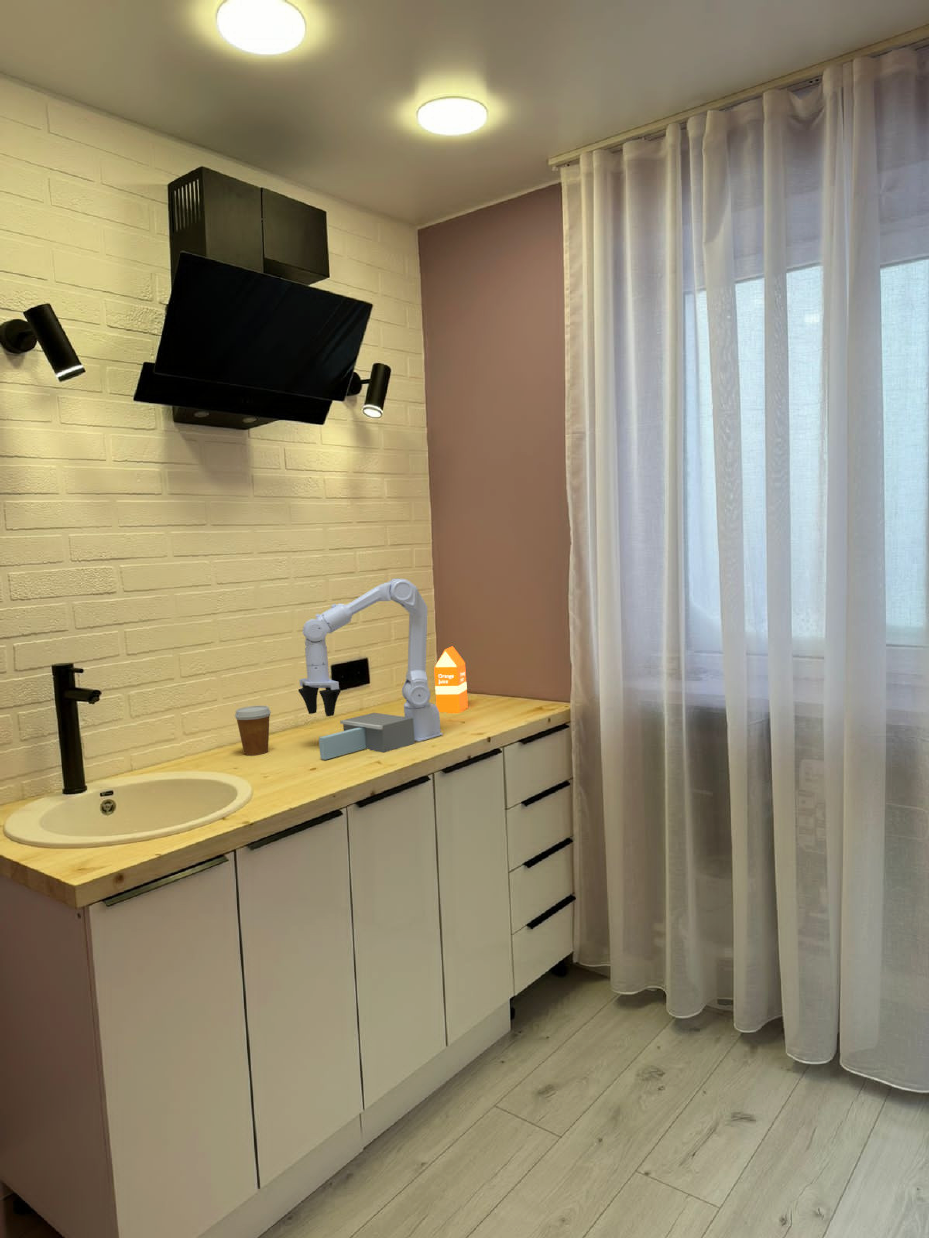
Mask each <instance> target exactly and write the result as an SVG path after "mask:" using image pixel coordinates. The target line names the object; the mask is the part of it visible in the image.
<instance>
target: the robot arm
mask: <svg viewBox="0 0 929 1238" xmlns="http://www.w3.org/2000/svg"><path fill="white" fill-rule="evenodd" d="M391 601H393V602H394V603H397V604H399V605H401V607H402V608H403V609H404V610H405V611H406V612H407V613H408V615H409V617H408V642H407V643H408V647H407V650H408V651H407V671H406V675H405V681H404V684H403V686H402V687H401V688H402V689H401V693H402V696H403V699H405V703H404V704H403V713H404V717H410V718H413V725H414V739H415V742H423V741H425V740H429V739H433V738H437V737H439V736H442V735H443V732H441V720H440V719H441V717H440V713H439V710H438V708H437V704H435V703H432V702H430V700H431V690H430V688H429V685H428V684H429V683H428V676H427V673H426V672H427V671H426V668H427V666H426V664H427V639H428V638H427V635H428V634H427V633H428V605H427V604H426V602H425V600H424V598H423V597H422V595H421V594H420V591H419V589H418V587H417V586H416V585H414V583H412V582H411V581H410V580H408V579H406V578H391V580H389V581H387V582H383V583H382V584H379V585H377V586H374V587H373V588H372V589H370V590H368V591H366V592H365V593H364V594H362V595H360V596H359V597H357V598H356V599H354V600H352V601H351V602H349V603H348V604H343V603H338V604H336V603H333V604H332V605H330V607H331V608H329V609H327V610H326V611H324V612H322V613H321V614H319V613H316V614H315V618H311V619H308V620H307V621H306V622H305V623H304V625H303V627H302V631H301V632H302V634H303V636H304V639H305V640H304V646H305V648H304V651H305V652H304V653H305V663H306V664H305V665H306V677H307V678H300V679H298V680H299V687H301V688H298V693H299V694H300V696H301V698H302V700H303V702H304V704H305V706H306V710H307V712H308V714H309V715H312V714H316V713H317V711H318V710H317V709H318V701H317V699H318V692H319V695H320V696H321V699H322V702H323V707H324V714H325V717H332V716H334V715H335V711H336V705H337V701H338V698H339V695H340V693H341V691H342V690H341V688H340V685H339V683H340V682H339V681H336V680H333V679H331V678H330V671H329V661H328V660H329V659H328V647H327V644H326V643H327V642H326V637H327V634H332V633H333V632H335V631H337V630H339V629H340V628H343V627H344V626H346V625H347V624H350V623H351V621H352V618H353V616H354V615H355V614H358V612H361V611H363V610H365V609H366V608H368V607H370V606H372V605H374V604H376V603H378V602H391ZM319 689H321V690H319Z"/></svg>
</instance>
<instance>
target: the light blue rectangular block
mask: <svg viewBox="0 0 929 1238" xmlns="http://www.w3.org/2000/svg"><path fill="white" fill-rule="evenodd" d="M318 742H319V743H318V746H319V755H320V760H325V761H326V760H329V759H333V758H335V757H339V756H343V755H348V754H350V753H354V752H359V751H362V750H364V749H366V750H367V742H366V728H365V727H358V728H354V729H350V730H346V731H344V730H341V731H339V732H335V733H331V734H327V735H324V736H320V737H318Z"/></svg>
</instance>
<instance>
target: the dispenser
mask: <svg viewBox="0 0 929 1238" xmlns="http://www.w3.org/2000/svg"><path fill="white" fill-rule="evenodd" d="M339 723H340V724H342V726H343V731H346V730H350V729H354V728H358V727H365V728H366V742H367V748H366V750H367V749H370V750H369V751H372V750H374V752H378V753H386V752H387V751H388V752H391V751H394V750H398V749H401V748H405V747H407V746H411V745H414V744H416V743H415V742H416V741H415V739H414V725H413V718H410V717H405V716H402V715H401V716H400V715H393V714H388V713H387V714H386V713H377V712H371V713H367V714H363V715H359V716H355V717H351V718H346V719H342V720H339ZM404 746H405V747H404ZM393 749H394V750H393ZM390 750H391V751H390ZM388 752H387V753H388Z"/></svg>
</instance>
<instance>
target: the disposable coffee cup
mask: <svg viewBox="0 0 929 1238" xmlns="http://www.w3.org/2000/svg"><path fill="white" fill-rule="evenodd" d="M271 712H272V710H270V707H269V706H268V705H251V706H245V707H241V708H238V709H236V710H235V714H234V717H235V720H236V722H237V726H238V732H239V737H240V740H241V741H240V742H241V745H242V750H243V754H244V755H246V756H261V755H265V754H267V753H268V752H269V738H270V735H269V734H270V733H269V732H270V716H271V714H272V713H271Z"/></svg>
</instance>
